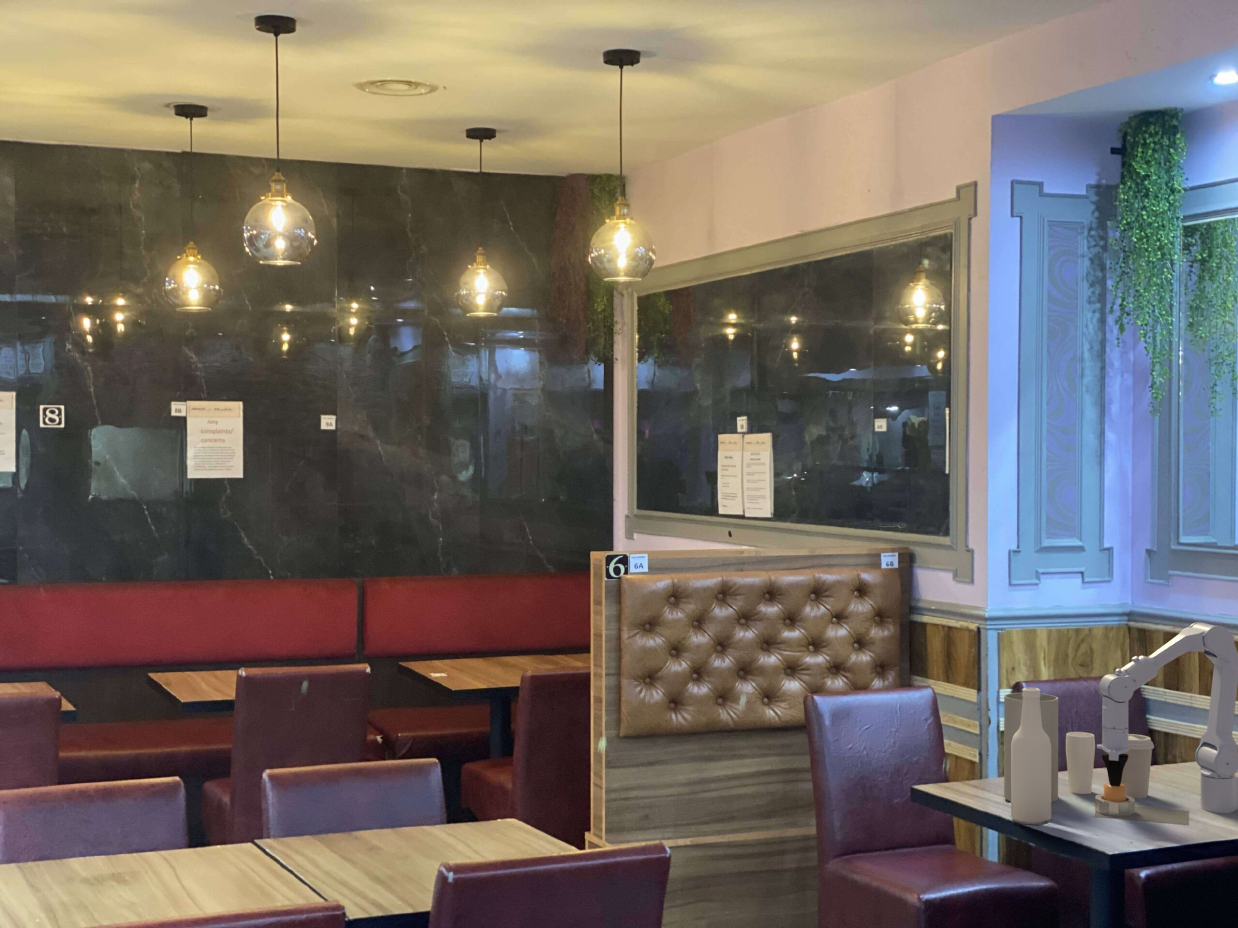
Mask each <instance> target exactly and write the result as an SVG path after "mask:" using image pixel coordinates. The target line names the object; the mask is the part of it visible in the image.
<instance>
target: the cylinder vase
mask: <svg viewBox="0 0 1238 928" xmlns="http://www.w3.org/2000/svg"><path fill="white" fill-rule="evenodd" d="M1022 694H1023V692H1012V693H1006V694H1004V696H1003V697H1004V699H1003V701H1004V702H1003V706H1004V707H1003V708H1004V709H1003V711H1004V712H1003V717H1004V719H1003V725H1004V726H1003V727H1004V728H1003V741H1004V742H1003V750H1004V751H1003V759H1004V760H1003V761H1004V762H1003V767H1004V768H1003V769H1004V770H1003V775H1004V776H1003V785H1004V787H1003V797H1004V798H1005V799H1006V801H1008V802H1009V803H1011V743H1012V739H1013V736H1014V734H1015V733H1016V732H1017V731H1018V730H1019V728H1020V725H1021V714H1022V701H1023V696H1022ZM1040 708H1041V720H1042V727H1043V730H1044V732H1045V733H1046V734H1047V735H1048V737H1049V738H1050V742H1051V803H1052V802H1056V801H1058V800H1059V697H1057V696H1055V695H1052V694H1046V693H1040Z"/></svg>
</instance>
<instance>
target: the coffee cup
mask: <svg viewBox="0 0 1238 928" xmlns="http://www.w3.org/2000/svg"><path fill="white" fill-rule="evenodd" d="M1128 746H1129V751H1128V752H1125V753H1122V754H1128V760H1127V762H1126V764H1125V766H1124V769H1123V774H1122V780H1121V784H1123V785H1125V786H1126V796H1129V797H1132V798H1134V799H1145V798H1147V797H1149V785H1150V774H1151V763H1152V753H1153V749H1154V748H1155V744H1154V743H1153V741H1152V739H1151V737H1150V736H1148V735H1147V736H1146V735H1144V734H1143V735H1142V734H1134V733H1132V734H1131V733H1128Z"/></svg>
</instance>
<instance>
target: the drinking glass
mask: <svg viewBox="0 0 1238 928" xmlns="http://www.w3.org/2000/svg"><path fill="white" fill-rule="evenodd" d="M1095 739H1096V738H1095V734H1093V733H1090V732H1083V731H1069V732H1067V733H1066V734H1065V755H1066V756H1065V757H1066V767H1067V779H1068V792H1070V793H1072V794H1077V795H1090V794H1092V792H1093V789H1092V788H1093V776H1094V765H1095V764H1094V763H1095V762H1094V761H1095V752H1096V751H1095V750H1096V744H1095V743H1096V742H1095Z"/></svg>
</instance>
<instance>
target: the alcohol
mask: <svg viewBox="0 0 1238 928" xmlns="http://www.w3.org/2000/svg"><path fill="white" fill-rule="evenodd" d="M1021 691H1022V693H1023V694H1022V696H1023V701H1022V714H1021V725H1020V728H1019V730H1018V731H1017V732H1016V733H1015V734H1014V736H1013V739H1012V743H1011V802H1010V810H1011V811H1010V816H1011V818H1012V820H1013V821H1015V822H1016V823H1018V824H1023V825H1030V826H1031V825H1033V826H1034V825H1035V826H1036V825H1037V826H1039V825H1040V826H1041V825H1047V824H1048V823H1049V820H1051V819H1052V802H1051V742H1050V738H1049V737H1048V735H1047V734H1046V733H1045V732H1044V730H1043V727H1042V720H1041V708H1040V694H1041V689H1040V688H1038V687H1024V688H1022V690H1021Z"/></svg>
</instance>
